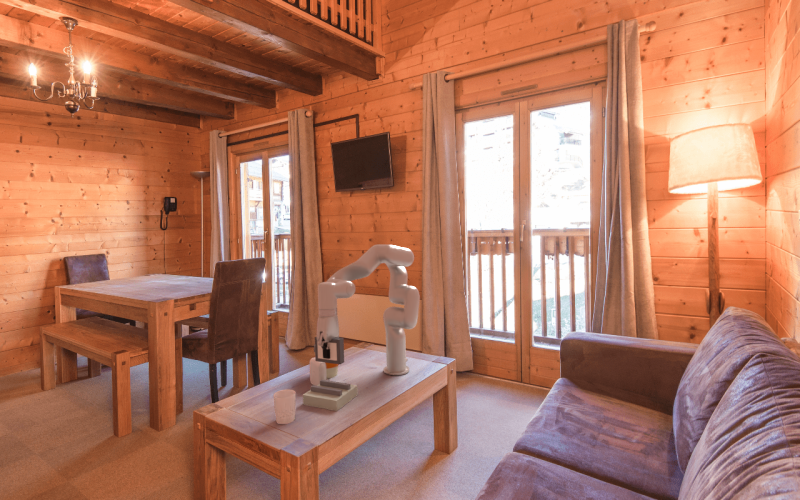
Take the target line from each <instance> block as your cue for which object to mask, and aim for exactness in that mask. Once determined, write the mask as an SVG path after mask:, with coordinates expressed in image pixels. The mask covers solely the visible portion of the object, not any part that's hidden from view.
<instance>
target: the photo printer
mask: <svg viewBox="0 0 800 500" xmlns="http://www.w3.org/2000/svg"><path fill="white" fill-rule="evenodd" d="M309 379H310V383H311V385H315V386H318V385H319V384H320V381H321V380H328V378H327V374H326V364H325V362H318V361H315V356H314V357H312V358H310V359H309Z"/></svg>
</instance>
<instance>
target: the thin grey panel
mask: <svg viewBox="0 0 800 500" xmlns="http://www.w3.org/2000/svg"><path fill="white" fill-rule="evenodd" d="M344 340H345V339H344V337H340V336H339V337H335V338H332V339H331V341H329V349H330V359H325V358H323V349H322V347H321V346H320V345H318V342H319V341H317V335H316V336H315V337H314V345H315V352H314V357H315V361H318V362H325V363H333V364H339V365H342V364H344V363H345V346H344V345H345V342H344ZM324 341H325V340H324ZM325 344H326V343H325Z"/></svg>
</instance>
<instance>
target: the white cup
mask: <svg viewBox="0 0 800 500" xmlns="http://www.w3.org/2000/svg"><path fill="white" fill-rule="evenodd" d="M296 393H297V392H296V391H295V390H293V389H281V390H278V391H276V392H274V393H273V407H274V414H275V421H276V423H277V424H279V425H288V424H291V423H294V421H295V420H296V401H297V400H296V396H297V395H296Z"/></svg>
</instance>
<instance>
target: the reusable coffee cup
mask: <svg viewBox="0 0 800 500" xmlns="http://www.w3.org/2000/svg"><path fill="white" fill-rule="evenodd" d="M313 353H315V344H314V345H313ZM325 364H326V374H327V379H333V378H335V377H337V376H338V372H339V365H340V364H333V363H325Z"/></svg>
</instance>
